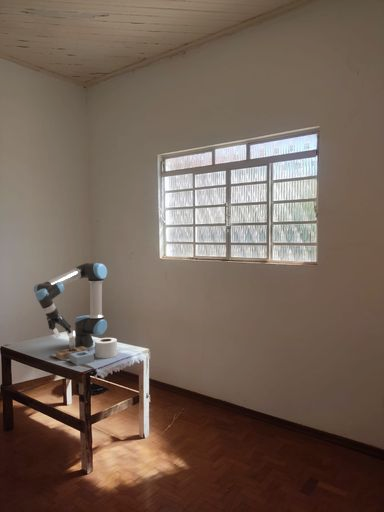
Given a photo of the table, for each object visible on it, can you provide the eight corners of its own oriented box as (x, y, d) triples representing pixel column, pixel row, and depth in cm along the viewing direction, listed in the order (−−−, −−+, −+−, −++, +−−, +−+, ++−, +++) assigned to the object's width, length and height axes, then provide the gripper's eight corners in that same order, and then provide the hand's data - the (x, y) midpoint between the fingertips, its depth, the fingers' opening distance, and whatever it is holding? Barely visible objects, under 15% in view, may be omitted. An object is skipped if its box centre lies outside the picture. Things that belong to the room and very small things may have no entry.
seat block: (86, 357, 258) (86, 350, 258) (94, 361, 249) (93, 354, 248) (69, 361, 250) (69, 353, 250) (77, 365, 241) (76, 357, 241)
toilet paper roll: (90, 355, 262) (90, 340, 262) (108, 350, 274) (108, 336, 274) (103, 359, 252) (103, 344, 252) (121, 354, 264) (121, 339, 263)
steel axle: (74, 354, 264) (73, 329, 264) (76, 355, 261) (75, 330, 261) (68, 355, 262) (68, 330, 261) (70, 357, 259) (70, 331, 258)
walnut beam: (83, 351, 272) (82, 346, 272) (88, 354, 264) (88, 349, 264) (55, 357, 259) (55, 351, 259) (61, 360, 251) (61, 354, 251)
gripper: (35, 314, 247) (49, 339, 254) (58, 313, 233) (73, 340, 241) (43, 307, 253) (57, 333, 260) (67, 307, 239) (80, 333, 246)
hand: (65, 336), depth 250 cm, fingers open, 13 cm apart
